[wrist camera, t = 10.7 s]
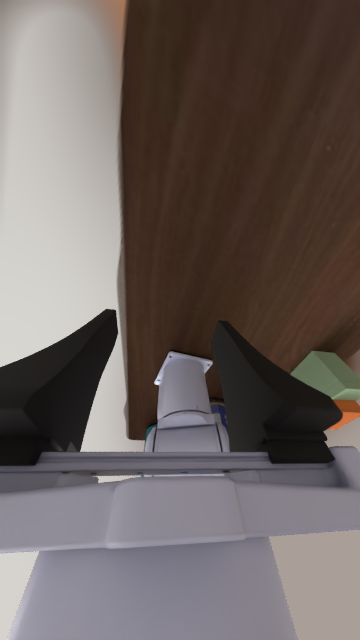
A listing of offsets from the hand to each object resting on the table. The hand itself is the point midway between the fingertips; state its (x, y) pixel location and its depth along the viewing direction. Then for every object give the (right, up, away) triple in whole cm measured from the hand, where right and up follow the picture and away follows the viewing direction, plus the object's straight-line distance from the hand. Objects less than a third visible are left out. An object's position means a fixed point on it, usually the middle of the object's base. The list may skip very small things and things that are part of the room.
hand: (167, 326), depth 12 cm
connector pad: (+25, -13, +16) cm, 32 cm away
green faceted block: (+25, -10, +20) cm, 33 cm away
